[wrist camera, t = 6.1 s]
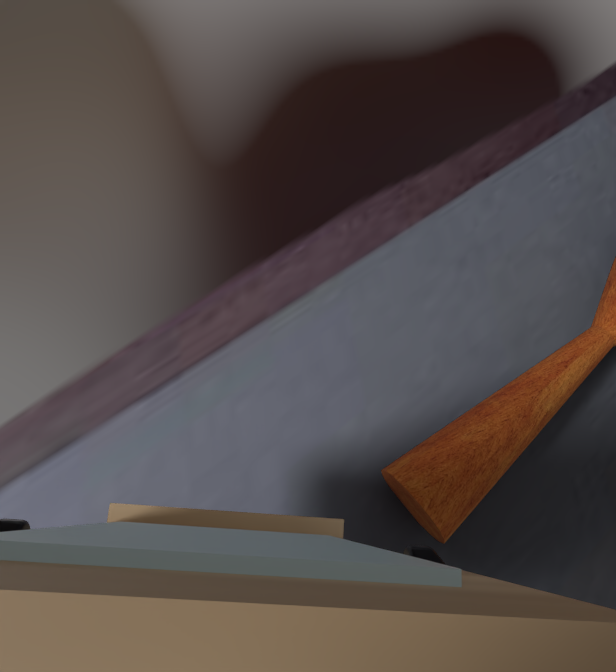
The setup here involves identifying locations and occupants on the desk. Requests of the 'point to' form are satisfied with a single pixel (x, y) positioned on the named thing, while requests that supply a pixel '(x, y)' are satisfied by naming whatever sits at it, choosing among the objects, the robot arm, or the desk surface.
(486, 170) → the desk surface
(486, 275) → the desk surface
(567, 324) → the desk surface
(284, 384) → the desk surface
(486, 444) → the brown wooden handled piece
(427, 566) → the beige block with panel
